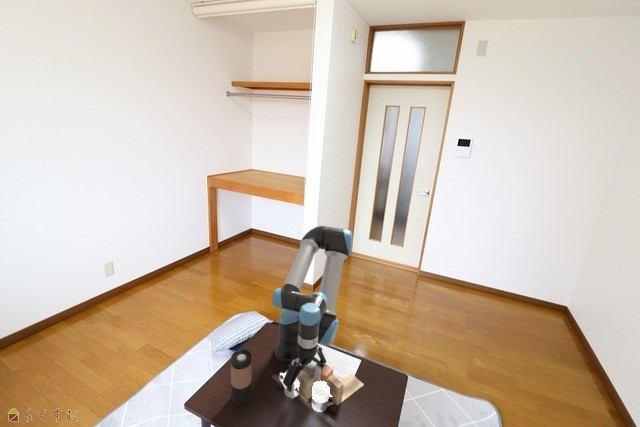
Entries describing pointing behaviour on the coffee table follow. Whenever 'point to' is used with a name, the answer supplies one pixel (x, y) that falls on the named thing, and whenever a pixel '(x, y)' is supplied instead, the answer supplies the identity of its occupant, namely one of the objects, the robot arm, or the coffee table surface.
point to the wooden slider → (305, 385)
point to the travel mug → (241, 377)
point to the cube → (326, 373)
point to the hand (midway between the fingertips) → (304, 387)
